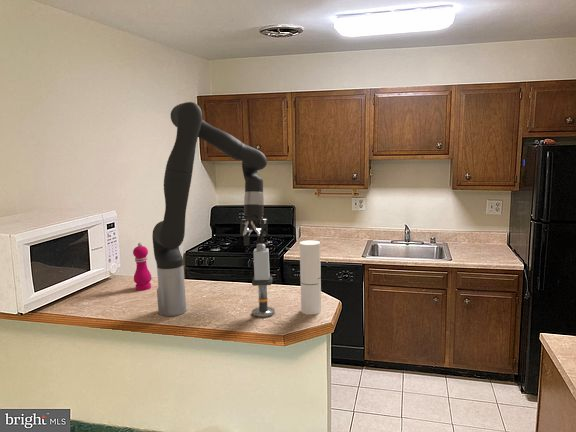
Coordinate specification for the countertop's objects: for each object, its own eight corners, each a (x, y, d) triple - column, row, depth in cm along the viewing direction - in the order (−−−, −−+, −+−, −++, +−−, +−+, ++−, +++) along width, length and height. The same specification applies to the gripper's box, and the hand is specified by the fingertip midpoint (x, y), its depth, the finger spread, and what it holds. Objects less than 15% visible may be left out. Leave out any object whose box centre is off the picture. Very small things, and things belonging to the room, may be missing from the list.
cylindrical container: (324, 309, 162) (323, 241, 158) (314, 316, 156) (313, 245, 152) (308, 306, 166) (306, 239, 162) (297, 312, 160) (295, 243, 156)
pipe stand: (251, 317, 156) (248, 247, 152) (253, 309, 164) (250, 242, 160) (274, 317, 156) (272, 246, 152) (275, 308, 164) (272, 241, 160)
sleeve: (254, 280, 155) (253, 252, 154) (255, 276, 160) (254, 248, 159) (269, 279, 155) (268, 251, 154) (269, 275, 160) (268, 248, 159)
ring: (251, 286, 155) (251, 281, 154) (253, 280, 162) (252, 275, 161) (272, 285, 155) (271, 281, 154) (272, 279, 162) (272, 275, 161)
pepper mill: (148, 284, 197) (144, 239, 194) (155, 288, 192) (151, 242, 189) (132, 288, 193) (128, 242, 190) (138, 292, 187) (134, 245, 184)
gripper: (235, 204, 177) (234, 245, 177) (257, 202, 167) (257, 246, 166) (250, 205, 182) (249, 245, 182) (273, 203, 172) (272, 246, 171)
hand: (253, 245), depth 174 cm, fingers open, 8 cm apart
